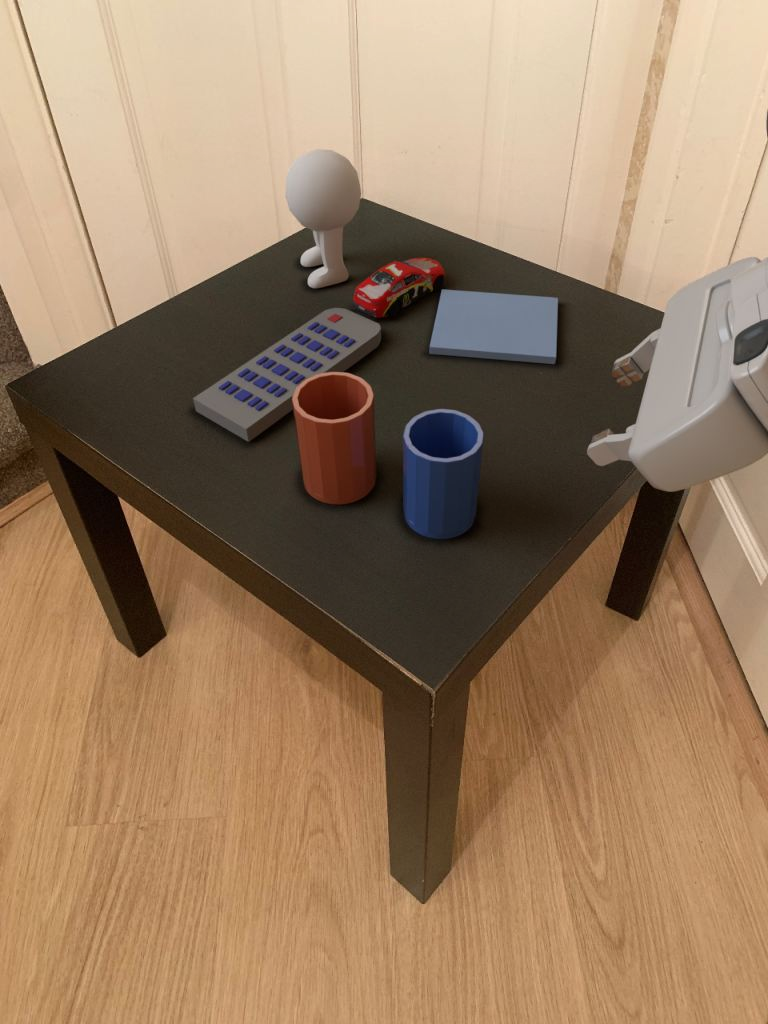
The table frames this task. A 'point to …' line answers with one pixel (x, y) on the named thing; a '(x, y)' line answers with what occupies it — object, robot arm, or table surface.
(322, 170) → the toy character
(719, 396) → the robot arm
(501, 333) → the blue mat
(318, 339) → the remote control
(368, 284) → the race car
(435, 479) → the blue cup
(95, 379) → the table surface
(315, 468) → the terracotta cup
